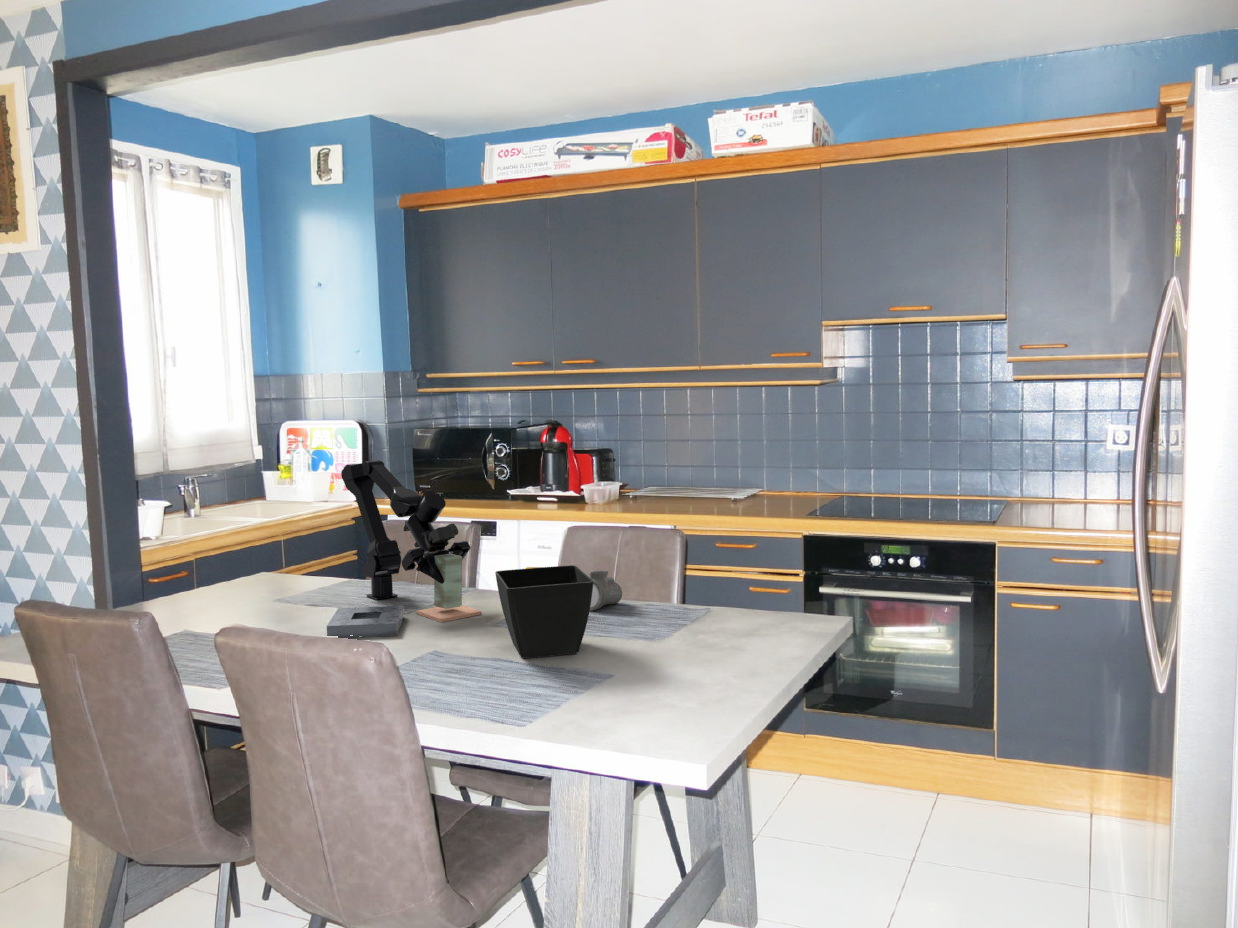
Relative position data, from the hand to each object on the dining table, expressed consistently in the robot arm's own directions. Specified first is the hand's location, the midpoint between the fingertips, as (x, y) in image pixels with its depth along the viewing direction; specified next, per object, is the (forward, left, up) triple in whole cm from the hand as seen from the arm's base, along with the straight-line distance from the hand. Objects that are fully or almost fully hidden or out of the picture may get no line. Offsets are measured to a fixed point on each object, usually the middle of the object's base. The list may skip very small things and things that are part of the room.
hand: (451, 581), depth 249 cm
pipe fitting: (+20, +34, -9) cm, 40 cm away
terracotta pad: (-1, 0, -9) cm, 9 cm away
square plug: (-1, 0, -7) cm, 7 cm away
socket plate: (-3, -22, -9) cm, 24 cm away
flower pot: (+42, -2, -9) cm, 43 cm away
